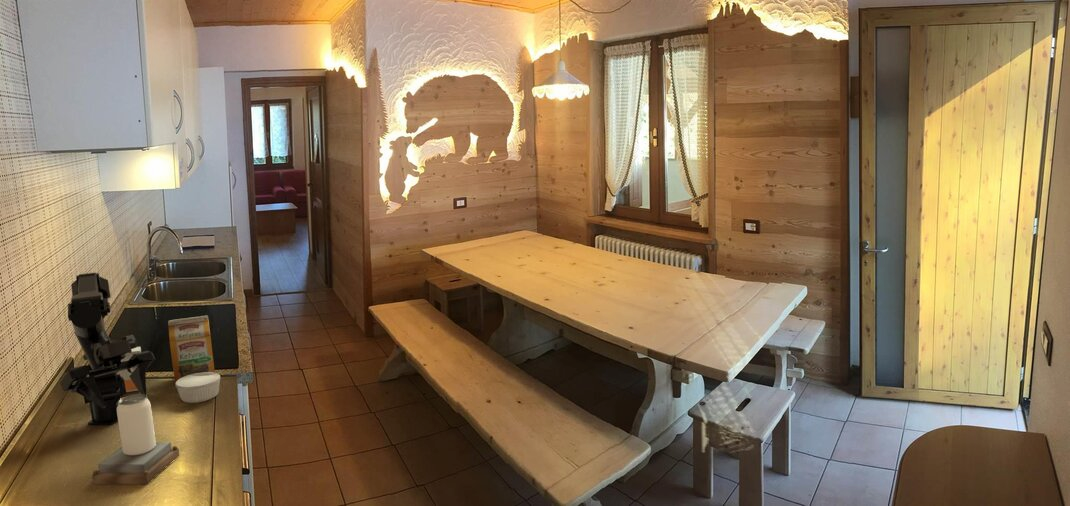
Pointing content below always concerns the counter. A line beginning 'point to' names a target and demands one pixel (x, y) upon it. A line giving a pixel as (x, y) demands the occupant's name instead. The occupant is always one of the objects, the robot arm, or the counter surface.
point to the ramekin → (198, 387)
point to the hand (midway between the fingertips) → (125, 401)
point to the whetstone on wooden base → (135, 465)
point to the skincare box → (125, 374)
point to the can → (136, 425)
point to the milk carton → (190, 346)
